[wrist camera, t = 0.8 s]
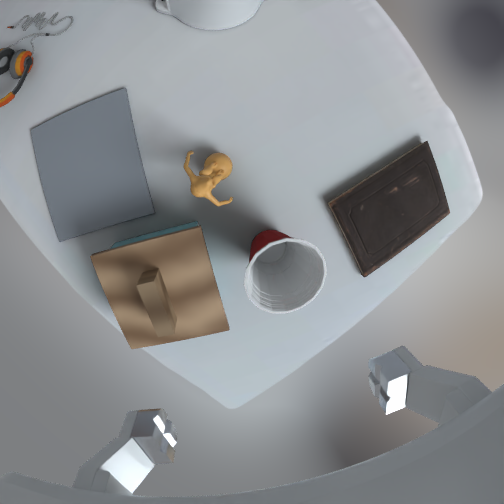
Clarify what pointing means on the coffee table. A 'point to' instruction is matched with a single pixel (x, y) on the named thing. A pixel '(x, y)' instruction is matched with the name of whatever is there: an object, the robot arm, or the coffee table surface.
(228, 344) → the coffee table surface
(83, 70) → the coffee table surface
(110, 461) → the robot arm
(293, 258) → the plastic cup
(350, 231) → the hardcover book
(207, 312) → the lid
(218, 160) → the figurine
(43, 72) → the coffee table surface
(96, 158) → the mat
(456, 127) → the coffee table surface
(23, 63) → the headphones
